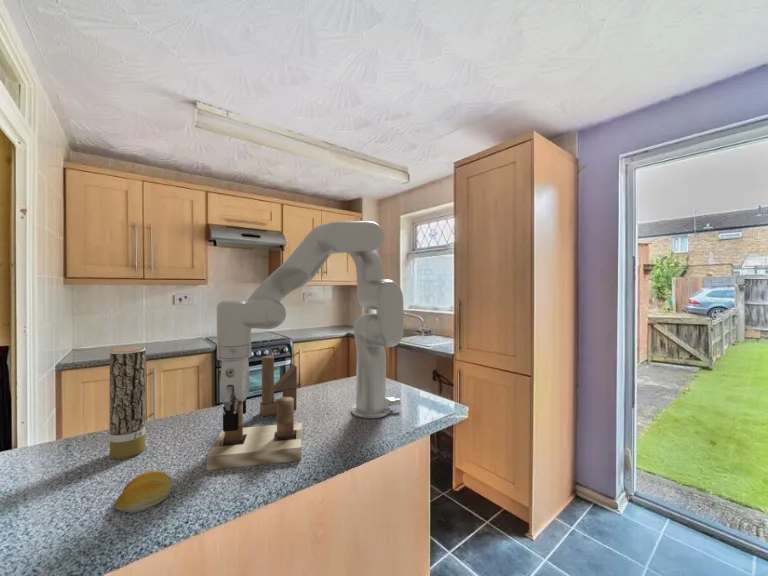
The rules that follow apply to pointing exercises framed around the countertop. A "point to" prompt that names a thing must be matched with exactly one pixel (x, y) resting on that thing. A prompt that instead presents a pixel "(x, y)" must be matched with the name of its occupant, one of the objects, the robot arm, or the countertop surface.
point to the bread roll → (144, 492)
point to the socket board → (255, 448)
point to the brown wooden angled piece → (276, 386)
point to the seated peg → (285, 418)
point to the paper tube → (127, 401)
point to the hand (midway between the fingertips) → (235, 421)
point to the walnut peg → (237, 436)
